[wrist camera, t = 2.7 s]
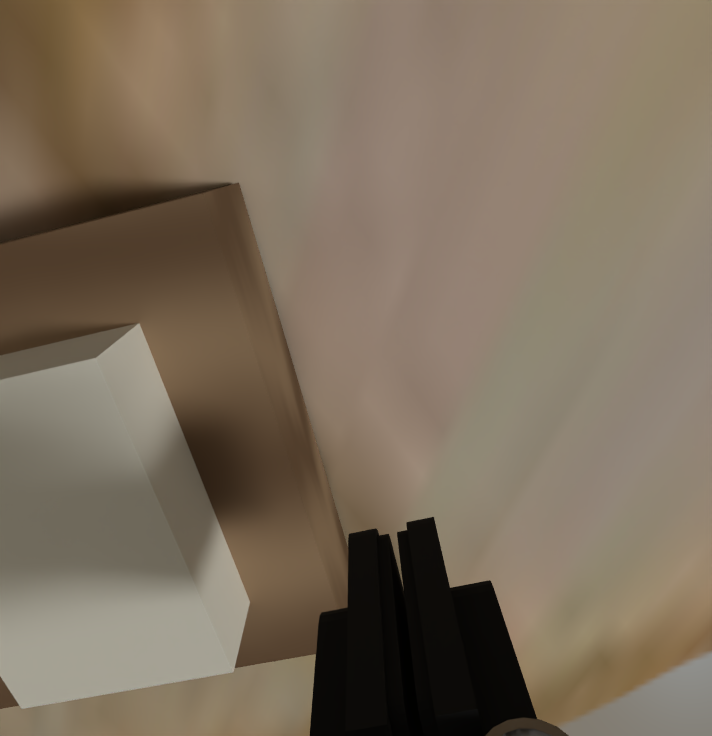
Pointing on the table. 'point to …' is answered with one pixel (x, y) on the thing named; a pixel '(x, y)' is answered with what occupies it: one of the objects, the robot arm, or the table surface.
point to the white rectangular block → (105, 529)
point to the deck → (203, 387)
